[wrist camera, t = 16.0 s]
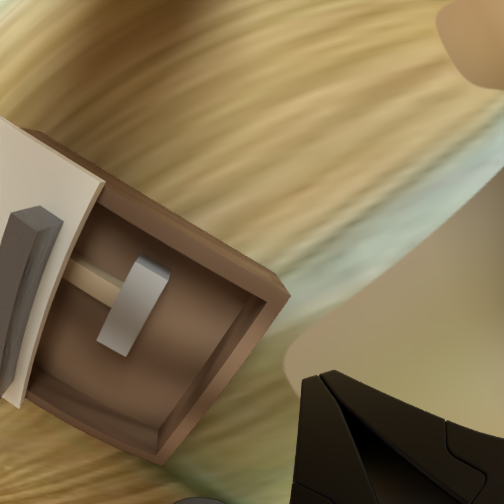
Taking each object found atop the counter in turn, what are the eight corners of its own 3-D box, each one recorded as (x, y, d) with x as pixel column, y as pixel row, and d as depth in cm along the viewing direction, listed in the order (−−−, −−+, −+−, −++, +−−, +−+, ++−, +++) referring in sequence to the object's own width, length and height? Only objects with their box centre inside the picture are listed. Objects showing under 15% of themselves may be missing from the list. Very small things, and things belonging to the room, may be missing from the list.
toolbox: (40, 131, 14) (9, 125, 11) (275, 273, 18) (290, 295, 15) (-22, 319, 16) (-47, 341, 13) (165, 430, 20) (162, 465, 16)
